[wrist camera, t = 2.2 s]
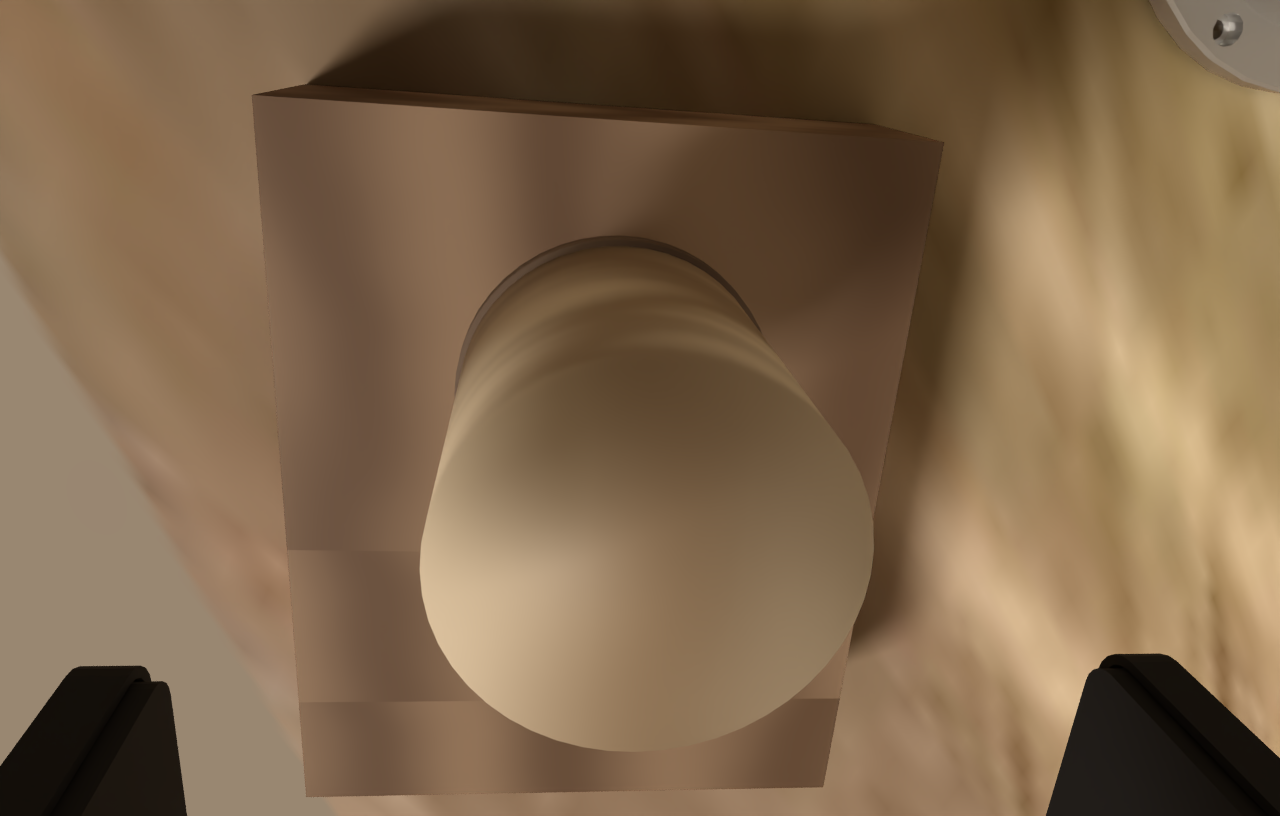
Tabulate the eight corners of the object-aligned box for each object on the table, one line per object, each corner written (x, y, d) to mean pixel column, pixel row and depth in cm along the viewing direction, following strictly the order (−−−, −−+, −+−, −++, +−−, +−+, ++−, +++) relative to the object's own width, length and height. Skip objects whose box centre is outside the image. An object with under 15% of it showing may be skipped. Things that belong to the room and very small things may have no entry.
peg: (740, 206, 22) (920, 357, 12) (713, 447, 25) (843, 754, 14) (472, 190, 21) (406, 337, 11) (470, 441, 24) (415, 760, 13)
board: (874, 124, 27) (944, 142, 22) (784, 685, 34) (823, 787, 29) (305, 84, 25) (251, 95, 20) (339, 688, 32) (306, 796, 28)
